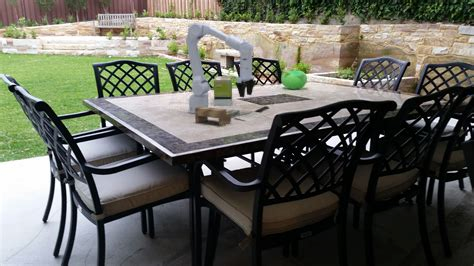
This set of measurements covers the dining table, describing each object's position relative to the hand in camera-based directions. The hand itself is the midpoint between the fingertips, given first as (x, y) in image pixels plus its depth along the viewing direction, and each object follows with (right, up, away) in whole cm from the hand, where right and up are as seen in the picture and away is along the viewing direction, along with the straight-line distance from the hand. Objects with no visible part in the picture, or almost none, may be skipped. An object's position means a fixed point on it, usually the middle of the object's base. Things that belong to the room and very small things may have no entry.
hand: (245, 95), depth 191 cm
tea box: (-12, -1, +33) cm, 35 cm away
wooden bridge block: (-15, -13, -13) cm, 24 cm away
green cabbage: (+36, +13, +86) cm, 94 cm away
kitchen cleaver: (+6, -9, +5) cm, 12 cm away
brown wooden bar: (-8, -10, 0) cm, 13 cm away
